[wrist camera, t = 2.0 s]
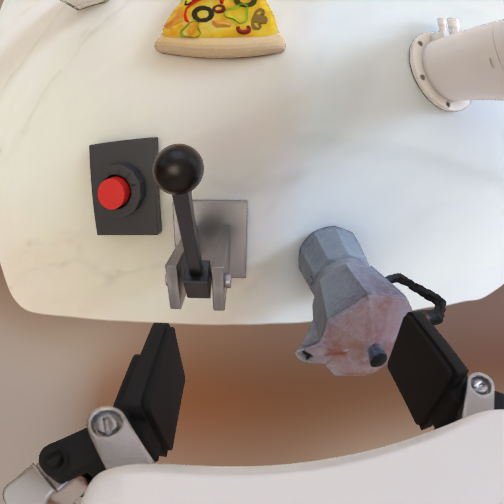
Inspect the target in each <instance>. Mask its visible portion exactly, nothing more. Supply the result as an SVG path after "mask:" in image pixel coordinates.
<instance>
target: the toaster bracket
mask: <svg viewBox="0 0 504 504" xmlns="http://www.w3.org/2000/svg"><path fill="white" fill-rule="evenodd" d="M193 207H194V214H195V221H196V227H197V234H198V240H199V246H200V252H201V258H202V260H210V266H211V273H212V289H213V309H214V310H225V301H226V291H227V288H230V287H231V278H246V241H247V200H193ZM173 218H174V234H175V247H176V248H175V250H174V252H173V253H172V255H171V257H170V258H169V260H168V262H167V264H166V265H165V268H166V276H165V281H166V285H167V286H168V293H169V300H170V307H171V309H181V307H182V304H183V301H184V298H185V295H186V291H185V287H184V284H183V276H184V270H185V264H186V257H185V253H184V248H183V244H182V240H181V235H180V231H179V226H178V221H177V217H176V212H175V207H174V202H173Z"/></svg>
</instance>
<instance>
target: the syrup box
mask: <svg viewBox="0 0 504 504" xmlns="http://www.w3.org/2000/svg"><path fill="white" fill-rule="evenodd" d="M60 1H62V2H64V3H66V4H68V5H69V6H71V7H73V8H75V9H76V10H80V9H83V8H86V7H89V6H92V5H95V4H98V3H102V2H105V1H108V0H60Z"/></svg>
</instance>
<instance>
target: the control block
mask: <svg viewBox="0 0 504 504" xmlns="http://www.w3.org/2000/svg"><path fill="white" fill-rule="evenodd" d="M89 149H90V170H91V184H92V195H93V205H94V213H95V221H96V228H97V235H158V234H159V233H160V232H161V231H162V229H161V215H160V199H159V187H158V185H157V184H156V182H155V180H154V177H153V172H152V169H153V163H154V160H155V158H156V156H157V155H158V138H157V137H156V138H142V139H132V140H123V141H115V142H108V143H101V144H94V145H90V146H89ZM116 176H117V177H121V178H123V179H124V180H126V182H127V183H128V185H129V188H130V195H129V198H128V200H127V202H126V203H125V204H123V205H122V206H120V207H118V208H117V209H113V210H110V209H107V208H105V207H104V206H102V204H101V203H100V201H99V199H98V188H99V186H100V184H101V183H102V182H103V181H104V180H106V179H109V178H112V177H116Z"/></svg>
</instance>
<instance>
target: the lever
mask: <svg viewBox="0 0 504 504" xmlns="http://www.w3.org/2000/svg"><path fill="white" fill-rule="evenodd" d="M152 172H153V177H154V180H155V182H156V184H157V185H158V187H159V188H160V189H162V190H163V191H164V192H166V193H169V194H172V197H173V202H174V207H175V212H176V217H177V221H178V226H179V231H180V235H181V240H182V244H183V248H184V253H185V257H186V264H185V270H184V276H183V284H184V287H185V291H186V294H187V297H188V298H210V297H211V285H212V273H211V266H210V260H202V258H201V252H200V246H199V240H198V234H197V227H196V221H195V214H194V207H193V200H192V193H191V191H192V190H193V189H194V188H195V187H196V186H197V185H198V184H199V183H200V181H201V179H202V176H203V172H204V165H203V160H202V158H201V156H200V154H199V153H198V152H197V151H196V150H195V149H194V148H192V147H191V146H188V145H185V144H173V145H170V146H168V147H166V148H164V149H163V150H162V151H161V152H160V153H159V154H158V155H157V156H156V158H155V160H154V163H153V169H152Z"/></svg>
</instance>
